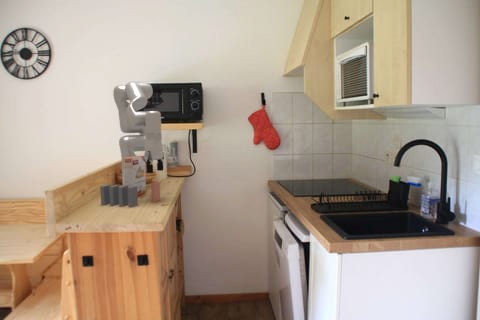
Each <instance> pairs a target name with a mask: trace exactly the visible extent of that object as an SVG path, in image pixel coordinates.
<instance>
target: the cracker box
mask: <svg viewBox="0 0 480 320" xmlns="http://www.w3.org/2000/svg"><path fill="white" fill-rule="evenodd" d="M123 166H124V186H128V188H129V187H132V186H137V194H138V197H140V196H141V195H145V194H146V193H147V191H146V190H147V189H146V185H147V184H146V183H147V182H146V162H145V159H144V155H136V156H133V157H127V158H123Z"/></svg>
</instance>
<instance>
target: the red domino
mask: <svg viewBox="0 0 480 320" xmlns="http://www.w3.org/2000/svg"><path fill="white" fill-rule="evenodd" d="M160 188H161V187H160V182H158V181H157V182H153V183H151V184H150V193H151V194H150V195H151V203H157V202H159V201H161V191H160Z"/></svg>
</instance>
